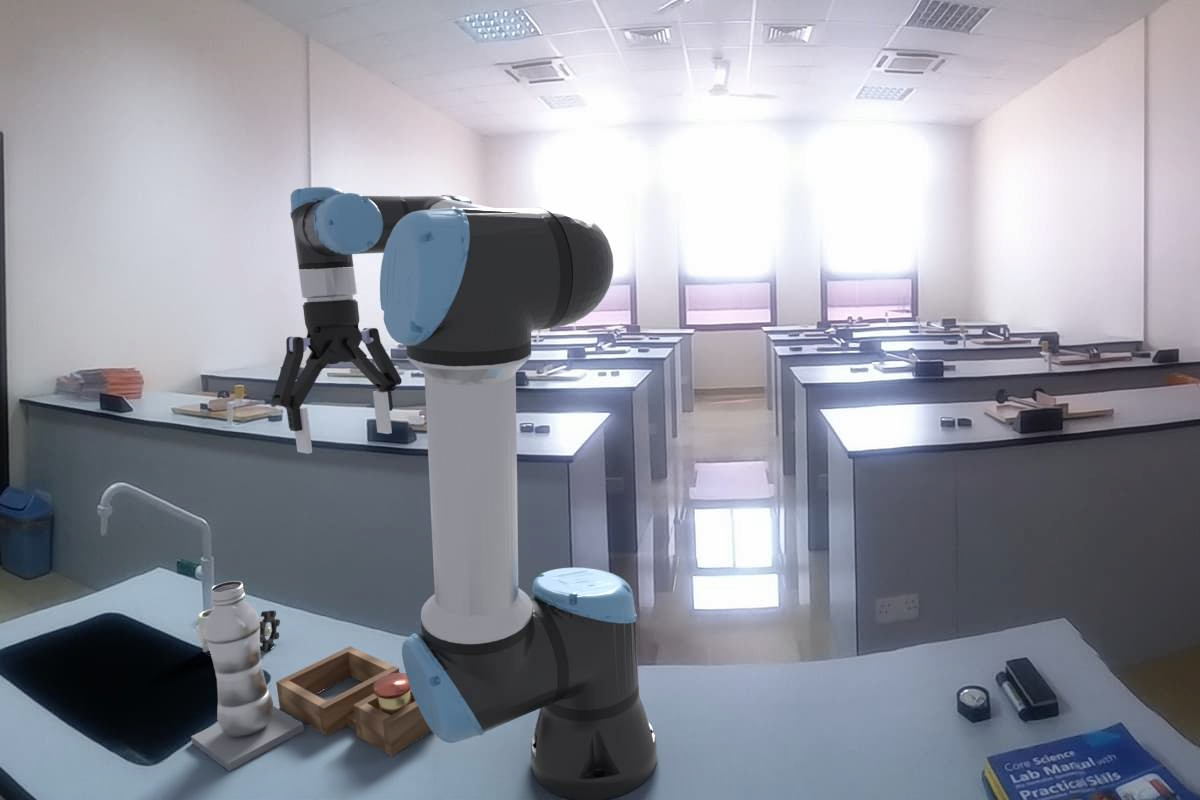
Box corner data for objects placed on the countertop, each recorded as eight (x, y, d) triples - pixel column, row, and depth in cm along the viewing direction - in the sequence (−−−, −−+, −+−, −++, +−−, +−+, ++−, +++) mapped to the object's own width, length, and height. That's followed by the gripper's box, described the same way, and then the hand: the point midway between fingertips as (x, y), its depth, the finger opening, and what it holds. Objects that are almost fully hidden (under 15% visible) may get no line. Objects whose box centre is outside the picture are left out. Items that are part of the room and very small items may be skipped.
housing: (451, 718, 103) (448, 687, 102) (377, 765, 94) (373, 732, 93) (353, 670, 117) (349, 643, 116) (279, 707, 108) (275, 678, 107)
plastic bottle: (278, 732, 100) (258, 588, 97) (221, 750, 97) (198, 602, 94) (272, 709, 106) (253, 572, 102) (218, 725, 103) (196, 584, 99)
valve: (191, 661, 123) (263, 659, 122) (184, 622, 122) (257, 620, 121) (213, 641, 130) (282, 639, 129) (208, 604, 128) (277, 602, 128)
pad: (303, 730, 102) (302, 723, 102) (229, 771, 94) (228, 763, 94) (265, 706, 108) (264, 700, 108) (192, 743, 101) (191, 736, 100)
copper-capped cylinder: (424, 725, 101) (419, 679, 100) (394, 744, 97) (388, 696, 96) (401, 714, 104) (396, 669, 103) (371, 731, 100) (365, 685, 99)
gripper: (386, 293, 123) (399, 423, 127) (232, 305, 104) (253, 458, 107) (415, 292, 118) (428, 427, 122) (260, 305, 99) (281, 464, 103)
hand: (346, 442), depth 115 cm, fingers open, 13 cm apart
